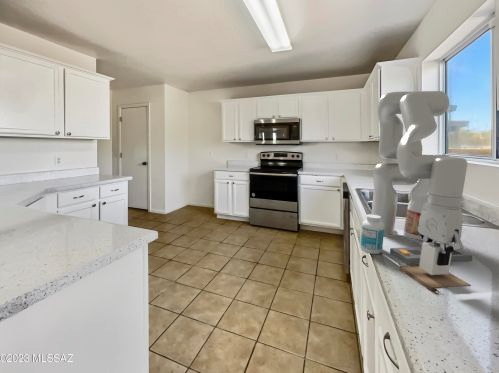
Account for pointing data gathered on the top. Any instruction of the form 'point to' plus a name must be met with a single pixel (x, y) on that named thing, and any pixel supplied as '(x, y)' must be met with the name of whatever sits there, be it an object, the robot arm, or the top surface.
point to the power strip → (414, 253)
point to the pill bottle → (372, 235)
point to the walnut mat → (432, 278)
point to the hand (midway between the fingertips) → (434, 260)
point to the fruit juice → (416, 208)
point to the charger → (432, 259)
